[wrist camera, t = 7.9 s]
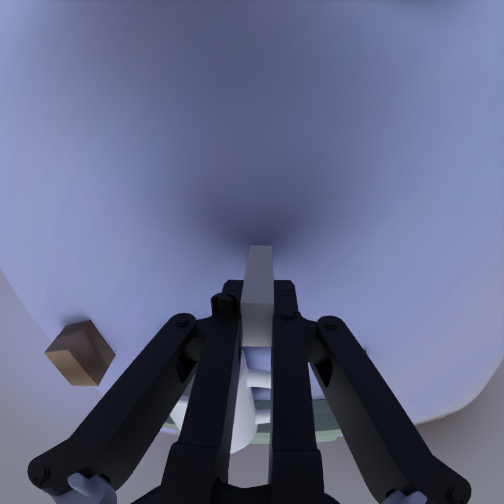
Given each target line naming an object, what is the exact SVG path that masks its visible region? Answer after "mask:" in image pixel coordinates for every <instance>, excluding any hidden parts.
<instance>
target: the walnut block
mask: <svg viewBox="0 0 504 504" xmlns="http://www.w3.org/2000/svg"><path fill="white" fill-rule="evenodd" d="M45 354H46V355H47V357H48V358H49V359H50V360H51V362H52V363H53V364H54V365H55V366H56V368H57V369H58V370H59V371H60V372H61V374H62V375H63V376H64V377H65V378H66V379H67V380H68V382H69V383H70V384H71V385H76V386H98V385H99V383H100V382H101V380H102V378H103V376H104V374H105V373H106V371H107V369H108V367H109V366H110V364H111V362H112V360H113V359H114V357H115V355H116V354H115V353H114V352H113V350H112V349H111V348H110V346H109V345H108V344H107V342H106V341H105V340H104V338H103V337H102V336H101V334H100V333H99V331H98V330H97V328H96V327H95V326H94V324H93V323H92V321H91V320H89V321H85V322H81V323H77V324H73V325H69V326H66V327H65V328H64V329H63V330H62V331H61V333H60V334H59V335H58V336H57V337H56V339H55V340H54V341H53V342H52V344H51V345H50V346H49V347H48V349H47V350H46V351H45Z"/></svg>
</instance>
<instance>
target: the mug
mask: <svg viewBox="0 0 504 504" xmlns="http://www.w3.org/2000/svg"><path fill="white" fill-rule="evenodd" d="M195 374H196V373H195ZM194 378H195V375H194V377H193V378H192V380H191V382H190V383H189V385H188V386H187V388H186V390H185V391H184V393H183V394H182V396H181V398H180V399H179V401H178V402H177V404H176V406H175V407H174V409H173V410H172V412H171V414H170V416H171V418H172V420H173V421H174V423H175V424H176V426H177V427H178V429H179V430H180V431H181V428H182V424H183V420H184V416H185V412H186V408H187V404H188V400H189V397H190V393H191V389H192V385H193V382H194ZM251 387H263V388H269V389H271V371H266V370H259V369H249V368H248V367H247V364H246V359H245V355H244V353H243V351H242V357H241V366H240V374H239V383H238V391H237V400H236V408H235V417H234V425H233V434H232V442H231V451H230V454H231V453H234V452H237V451H239V450H241V449H242V448H244V447H245V446H246V445H247V444H249V443H250V441H251V440H252V439H253V437H254V436H255V434H256V431H257V427H258V424H264V423H270V409H266V410H257V409H256V408H255V404H254V399H253V394H252V389H251Z"/></svg>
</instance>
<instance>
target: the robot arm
mask: <svg viewBox="0 0 504 504" xmlns="http://www.w3.org/2000/svg"><path fill="white" fill-rule="evenodd" d="M211 306H212V316H211V317H208V318H205V319H199V320H196V318H195V317H194V316H193V315H191V314H189V313H180V314H176V315H174V316H173V317H171V318H170V319H169V320H168V322H167V323H166V324H165V325H164V326H163V327H162V328H161V330H160V331H159V332H158V333H157V334H156V335H155V337H154V338H153V339H152V340H151V341H150V342H149V343H148V345H147V346H146V347H145V348H144V349H143V350H142V352H141V353H140V354H139V355H138V356H137V357H136V359H135V360H134V361H133V362H132V363H131V364H130V366H129V367H128V368H127V369H126V370H125V372H124V373H123V374H122V375H121V376H120V377H119V379H118V380H117V381H116V382H115V383H114V385H113V386H112V387H111V388H110V389H109V390H108V392H107V393H106V394H105V395H104V396H103V398H102V399H101V400H100V401H99V402H98V404H97V405H96V406H95V407H94V409H93V410H92V411H91V412H90V413H89V415H88V416H87V417H86V418H85V420H84V421H83V422H82V423H81V424H80V425H79V427H78V428H77V429H76V431H75V432H74V433H73V434H72V435H71V436H70V438H68V439H67V440H65V441H64V442H62V443H60V444H58V445H57V446H55V447H53V448H52V449H50V450H48V451H46V452H45V453H43V454H41V455H39V456H38V457H36V458H34V459H33V460H32V461H31V462H30V464H29V466H28V476H29V479H30V481H31V482H32V483H33V484H34V485H35V486H37V487H38V488H39V489H41V490H43V491H44V492H46V493H48V494H49V495H51V496H52V498H53V499H54V501H55V502H56V504H117V496H116V492H115V491H116V490H118V489H119V488H120V487H121V486H122V485H123V484H124V483H125V482H126V481H127V480H128V478H129V477H130V476H131V474H132V473H133V471H134V470H135V468H136V467H137V465H138V464H139V462H140V461H141V459H142V457H143V456H144V454H145V453H146V451H147V450H148V448H149V447H150V445H151V443H152V442H153V440H154V439H155V437H156V436H157V434H158V432H159V431H160V429H161V428H162V426H163V425H164V423H165V421H166V420H167V418H168V417H169V415H170V414H171V412H172V410H173V409H174V407H175V406H176V404H177V402H178V401H179V399H180V398H181V396H182V394H183V393H184V391H185V390H186V388H187V386H188V385H189V383H190V382H191V380H192V378H193V377H194V375H195V378H194V382H193V385H192V389H191V393H190V397H189V400H188V404H187V408H186V412H185V416H184V420H183V424H182V428H181V431H180V435H179V439H178V441H177V442H175V443H173V444H172V446H171V448H170V451H169V455H168V458H167V462H166V466H165V470H164V474H163V478H162V482H161V485H160V486H158V487H156V488H155V489H153V490H151V491H150V492H148V493H147V494H145V495H144V496H142V497H140V498H139V499H137V500H136V501H134V502H132V503H131V504H340V503H339V502H338V501H337V500H335V499H334V498H333V497H331V496H330V495H328V494H326V493H324V481H323V467H322V458H321V453H320V450H319V449H317V445H316V434H315V423H314V413H313V404H312V395H311V386H310V377H309V369H308V362H310V366H311V368H312V370H313V372H314V374H315V376H316V378H317V381H318V383H319V385H320V387H321V389H322V391H323V393H324V395H325V398H326V400H327V402H328V404H329V406H330V408H331V410H332V412H333V415H334V417H335V419H336V421H337V423H338V425H339V427H340V429H341V432H342V434H343V436H344V438H345V440H346V442H347V444H348V446H349V449H350V451H351V453H352V455H353V457H354V459H355V461H356V464H357V466H358V468H359V470H360V472H361V474H362V477H363V479H364V481H365V483H366V485H367V487H368V489H369V491H370V492H371V494H372V495H373V497H374V498H375V499H376V501H377V502H378V503H379V504H467V503H468V501H469V499H470V497H471V486H470V484H469V483H468V481H467V480H466V479H464V478H463V477H462V476H460V475H459V474H457V473H456V472H455V471H453V470H452V469H451V468H449V467H448V466H447V465H445V464H444V463H443V462H441V461H440V460H438V459H437V458H436V457H435V456H433V455H432V453H431V452H430V450H429V449H428V447H427V445H426V444H425V442H424V441H423V439H422V437H421V436H420V434H419V433H418V431H417V430H416V428H415V426H414V425H413V423H412V421H411V420H410V418H409V417H408V415H407V414H406V412H405V411H404V409H403V408H402V406H401V405H400V403H399V401H398V400H397V398H396V397H395V395H394V394H393V392H392V391H391V389H390V388H389V386H388V385H387V383H386V382H385V380H384V379H383V377H382V376H381V375H380V373H379V372H378V370H377V369H376V367H375V366H374V364H373V363H372V361H371V360H370V358H369V357H368V356H367V354H366V353H365V351H364V350H363V348H362V347H361V346H360V344H359V343H358V341H357V340H356V338H355V337H354V336H353V334H352V333H351V331H350V330H349V328H348V327H347V326H346V324H345V323H344V322H343V321H342V320H341V319H340V318H338V317H335V316H324V317H321V318H320V319H319V320H318V321H317V322H315V321H310V320H307V319H305V318H303V317H302V316H301V314H300V312H299V311H298V305H297V298H296V291H295V285H294V284H293V283H292V282H291V281H290V280H273V245H250V246H249V253H248V259H247V265H246V271H245V277H244V280H228V281H227V282H226V283H225V284H224V286H223V290H222V292H221V293H218V294H216V295H214V296H213V297H212V298H211ZM242 346H250V347H272V349H271V405H270V446H269V474H268V484H267V485H262V486H257V487H250V488H239V487H236V486H233V485H229V484H228V468H229V459H230V451H231V442H232V434H233V425H234V417H235V408H236V400H237V391H238V383H239V374H240V366H241V357H242ZM195 373H196V374H195Z"/></svg>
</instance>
